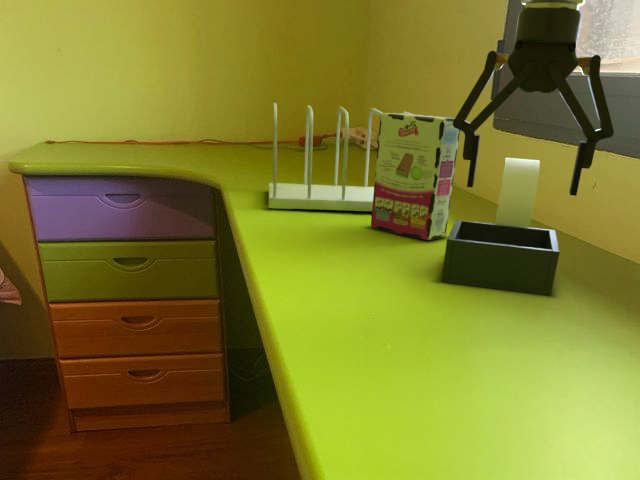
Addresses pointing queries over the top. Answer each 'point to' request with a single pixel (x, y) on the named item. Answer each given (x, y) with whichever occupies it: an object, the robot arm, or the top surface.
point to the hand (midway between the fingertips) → (520, 190)
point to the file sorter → (322, 194)
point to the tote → (501, 257)
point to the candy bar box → (414, 174)
